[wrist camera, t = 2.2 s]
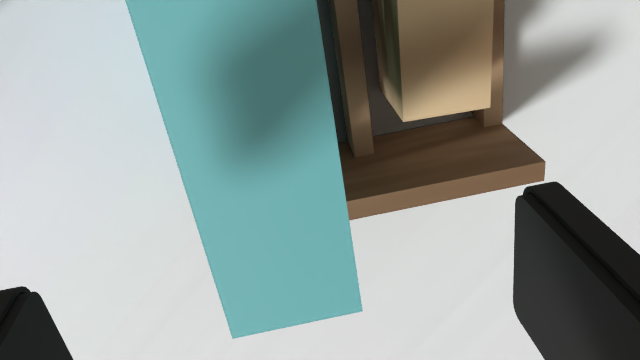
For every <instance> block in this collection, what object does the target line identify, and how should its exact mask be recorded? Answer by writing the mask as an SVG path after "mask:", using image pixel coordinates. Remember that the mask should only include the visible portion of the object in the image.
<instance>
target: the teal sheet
mask: <svg viewBox="0 0 640 360" xmlns="http://www.w3.org/2000/svg"><path fill="white" fill-rule="evenodd" d="M125 1H126V4H127V7H128V10H129V13H130V16H131V20H132V23H133V26H134V29H135V32H136V35H137V39H138V42H139V45H140V48H141V51H142V54H143V57H144V61H145V64H146V67H147V70H148V73H149V76H150V80H151V83H152V86H153V89H154V92H155V95H156V98H157V102H158V105H159V108H160V111H161V114H162V117H163V121H164V124H165V127H166V130H167V133H168V136H169V139H170V143H171V146H172V149H173V152H174V155H175V158H176V162H177V165H178V168H179V171H180V174H181V177H182V180H183V184H184V187H185V190H186V193H187V196H188V199H189V203H190V206H191V209H192V212H193V215H194V218H195V221H196V225H197V228H198V231H199V234H200V237H201V240H202V244H203V247H204V250H205V253H206V256H207V259H208V262H209V266H210V269H211V272H212V275H213V278H214V281H215V284H216V288H217V291H218V294H219V297H220V300H221V303H222V307H223V310H224V313H225V316H226V319H227V322H228V325H229V329H230V332H231V335H232V338H238V337H243V336H247V335H252V334H257V333H262V332H266V331H271V330H276V329H280V328H285V327H290V326H295V325H299V324H304V323H309V322H313V321H318V320H323V319H328V318H332V317H337V316H342V315H346V314H351V313H356V312H361V311H362V304H361V297H360V291H359V284H358V277H357V270H356V264H355V257H354V250H353V243H352V237H351V230H350V223H349V216H348V210H347V203H346V196H345V189H344V183H343V176H342V169H341V163H340V156H339V149H338V142H337V136H336V129H335V122H334V115H333V109H332V102H331V95H330V88H329V82H328V75H327V68H326V61H325V55H324V48H323V41H322V34H321V28H320V21H319V14H318V7H317V1H316V0H125Z"/></svg>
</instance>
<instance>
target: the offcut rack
mask: <svg viewBox="0 0 640 360" xmlns="http://www.w3.org/2000/svg"><path fill="white" fill-rule="evenodd" d="M329 7H330V15H331V22H332V29H333V36H334V44H335V51H336V58H337V65H338V73H339V80H340V87H341V94H342V102H343V109H344V116H345V123H346V131H347V138H348V142H343V143H338V149H339V156H340V163H341V169H342V176H343V183H344V189H345V196H346V203H347V210H348V216H349V220H353V219H358V218H363V217H368V216H373V215H377V214H382V213H387V212H392V211H397V210H402V209H407V208H412V207H417V206H422V205H427V204H431V203H436V202H441V201H446V200H451V199H456V198H461V197H466V196H471V195H476V194H481V193H486V192H490V191H495V190H500V189H505V188H510V187H515V186H520V185H525V184H530V183H535V182H540V181H544V175H545V161H544V160H543V159H542V158H541V157H540V156H539V155H537V154H536V153H535V152H534V151H533V150H532V149H531V148H529V147H528V146H527V145H526V144H525V143H524V142H523V141H521V140H520V139H519V138H518V137H517V136H516V135H515V134H513V133H512V132H511V131H510V130H509V129H508V128H507V127H505V126H504V125H503V124H502V113H503V56H504V0H494V11H493V42H492V72H491V102H490V108H485V109H479V110H473V117H470V118H465V119H460V120H455V121H450V122H445V123H440V124H435V125H430V126H424V127H419V128H414V129H409V130H404V131H399V132H394V133H389V134H384V135H379V136H374V137H372V129H371V121H370V112H369V103H368V94H367V85H366V76H365V67H364V58H363V49H362V41H361V32H360V23H359V14H358V5H357V0H329Z"/></svg>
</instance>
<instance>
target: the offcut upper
mask: <svg viewBox="0 0 640 360" xmlns="http://www.w3.org/2000/svg"><path fill="white" fill-rule="evenodd" d="M383 3H384V19H385V35H386V51H387V67H388V83H389V99H390V104H391V105H392V107H393V108H394V110H395V111H396V112H397V114H398V115H399V117H400V118H401V119H402V121H403V122H407V121H413V120H419V119H425V118H431V117H437V116H443V115H449V114H455V113H461V112H467V111H473V110H479V109H485V108H490V102H491V72H492V42H493V11H494V0H383Z"/></svg>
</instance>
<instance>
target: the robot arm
mask: <svg viewBox="0 0 640 360" xmlns="http://www.w3.org/2000/svg"><path fill="white" fill-rule="evenodd" d="M513 304H514V309H515V312H516V315H517V317H518V319H519V321H520V322H521V324H522V325H523V327H524V329H525V330H526V332H527V333H528V335H529V336H530V338H531V339H532V341H533V342H534V344H535V345H536V347H537V348H538V350H539V351H540V353H541V354H542V356H543V358H544V359H545V360H640V255H639V254H638V253H637V252H636V251H635V250H634V249H632V248H631V247H630V246H629V245H628V244H627V243H626V242H625V241H623V240H622V239H621V238H620V237H619V236H618V235H617V234H616V233H615V232H613V231H612V230H611V229H610V228H609V227H608V226H607V225H606V224H604V223H603V222H602V221H601V220H600V219H599V218H598V217H597V216H595V215H594V214H593V213H592V212H591V211H590V210H589V209H588V208H587V207H585V206H584V205H583V204H582V203H581V202H580V201H579V200H578V199H576V198H575V197H574V196H573V195H572V194H571V193H570V192H569V191H568V190H566V189H565V188H564V187H563V186H562V185H561V184H559V183H558V182H549V183H544V184H539V185H534V186H529V187H526V188H525V190H524V192H523V195H521V196H518V197H517V198H516V202H515V240H514V284H513ZM0 360H73V358H72V356H71V354H70V352H69V350H68V349H67V347H66V345H65V343H64V341H63V339H62V337H61V335H60V333H59V331H58V329H57V327H56V325H55V323H54V321H53V319H52V317H51V315H50V313H49V312H48V310H47V308H46V306H45V304H44V302H43V300H42V298H41V296H40V295H39V294H38V293H37V292H30V290H29V289H27V288H26V287H23V286H21V287H16V288H11V289H6V290H1V291H0Z"/></svg>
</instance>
